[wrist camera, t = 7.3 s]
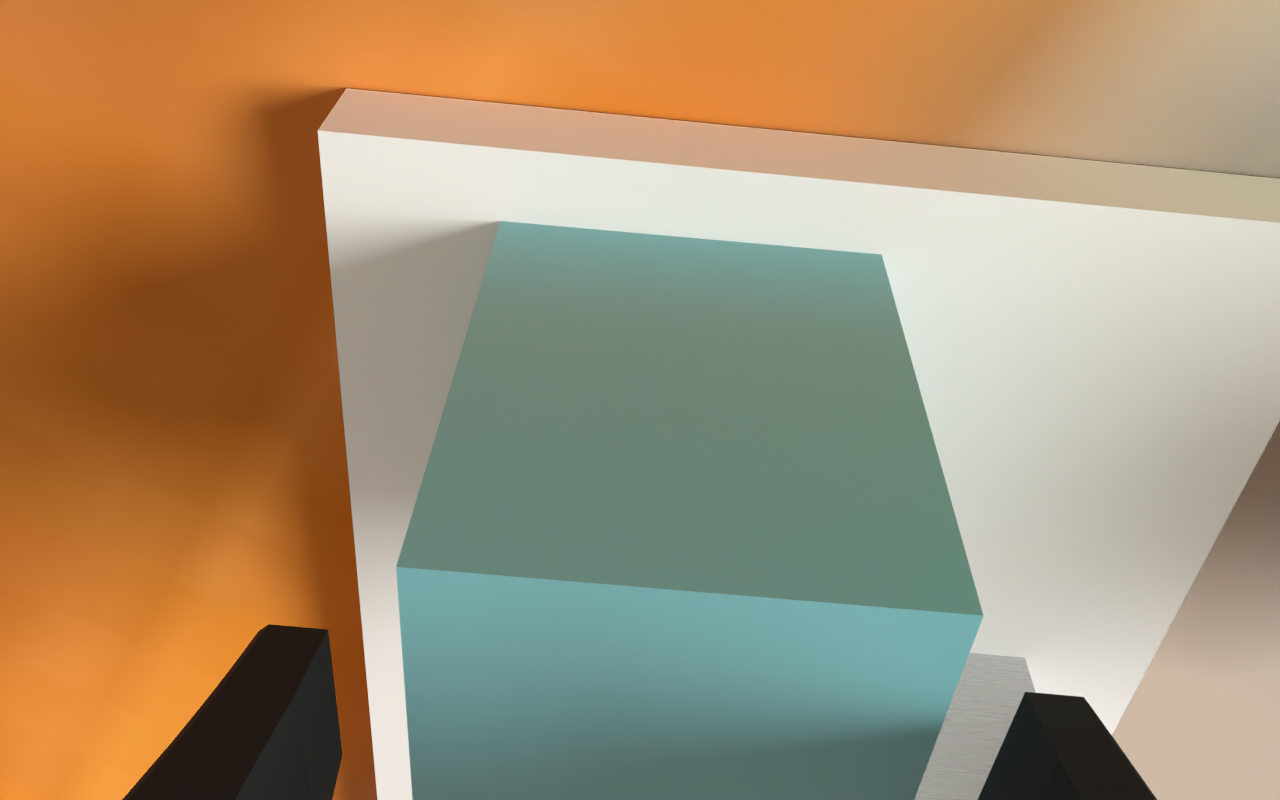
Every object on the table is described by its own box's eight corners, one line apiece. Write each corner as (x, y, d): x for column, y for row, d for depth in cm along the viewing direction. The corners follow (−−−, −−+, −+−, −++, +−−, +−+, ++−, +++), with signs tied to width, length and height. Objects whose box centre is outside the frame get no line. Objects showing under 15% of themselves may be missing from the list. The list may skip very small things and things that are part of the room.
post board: (966, 922, 28) (979, 983, 27) (403, 875, 27) (389, 934, 26) (1328, 183, 16) (1380, 233, 15) (346, 88, 16) (317, 130, 14)
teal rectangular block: (816, 534, 18) (866, 925, 13) (498, 507, 18) (419, 890, 13) (881, 253, 15) (983, 615, 10) (500, 221, 15) (394, 567, 10)
